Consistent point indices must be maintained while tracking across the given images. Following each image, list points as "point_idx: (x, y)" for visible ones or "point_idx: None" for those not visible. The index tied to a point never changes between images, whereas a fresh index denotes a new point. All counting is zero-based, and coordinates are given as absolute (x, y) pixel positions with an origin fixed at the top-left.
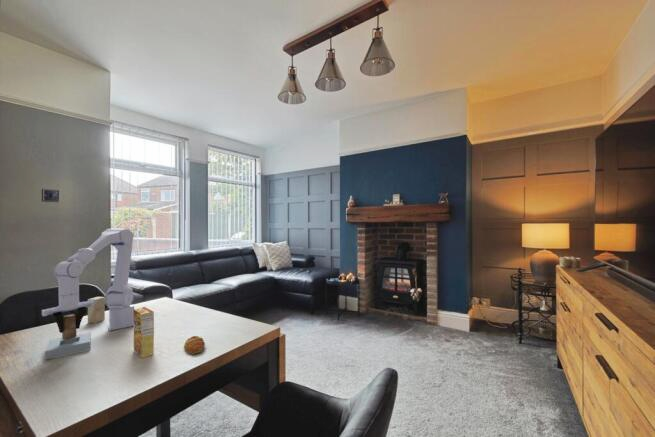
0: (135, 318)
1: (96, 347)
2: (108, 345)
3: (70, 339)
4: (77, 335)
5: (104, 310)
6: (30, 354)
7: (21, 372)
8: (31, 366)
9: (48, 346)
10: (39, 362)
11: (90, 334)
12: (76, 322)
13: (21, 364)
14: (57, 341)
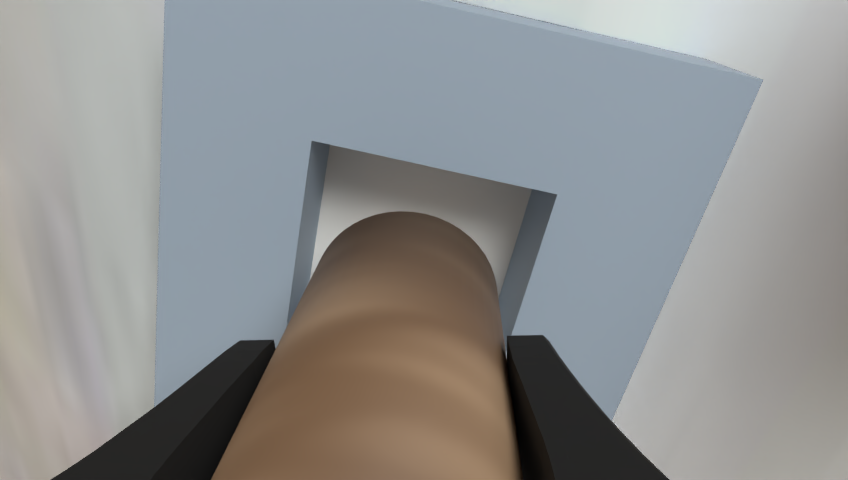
0: None
1: (621, 410)
2: (717, 450)
3: (439, 162)
4: (555, 89)
5: None
6: (26, 5)
7: (54, 467)
8: (103, 406)
9: (172, 276)
10: (153, 368)
11: (698, 224)
12: (525, 477)
13: (9, 284)
14: (274, 144)
